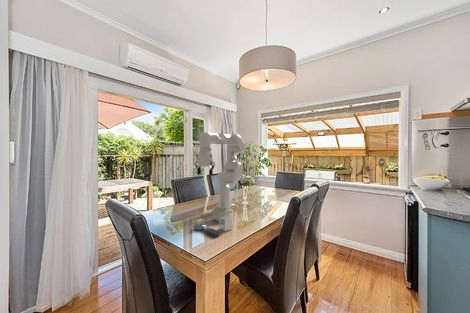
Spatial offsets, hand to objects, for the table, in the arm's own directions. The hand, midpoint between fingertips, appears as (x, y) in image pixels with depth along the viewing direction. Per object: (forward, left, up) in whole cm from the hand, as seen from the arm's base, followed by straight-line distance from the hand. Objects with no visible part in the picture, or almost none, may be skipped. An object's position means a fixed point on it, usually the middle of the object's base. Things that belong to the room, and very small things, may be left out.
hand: (204, 174), depth 143 cm
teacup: (-9, +6, -32) cm, 34 cm away
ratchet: (+11, +18, -32) cm, 38 cm away
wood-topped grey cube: (0, +22, -32) cm, 39 cm away
